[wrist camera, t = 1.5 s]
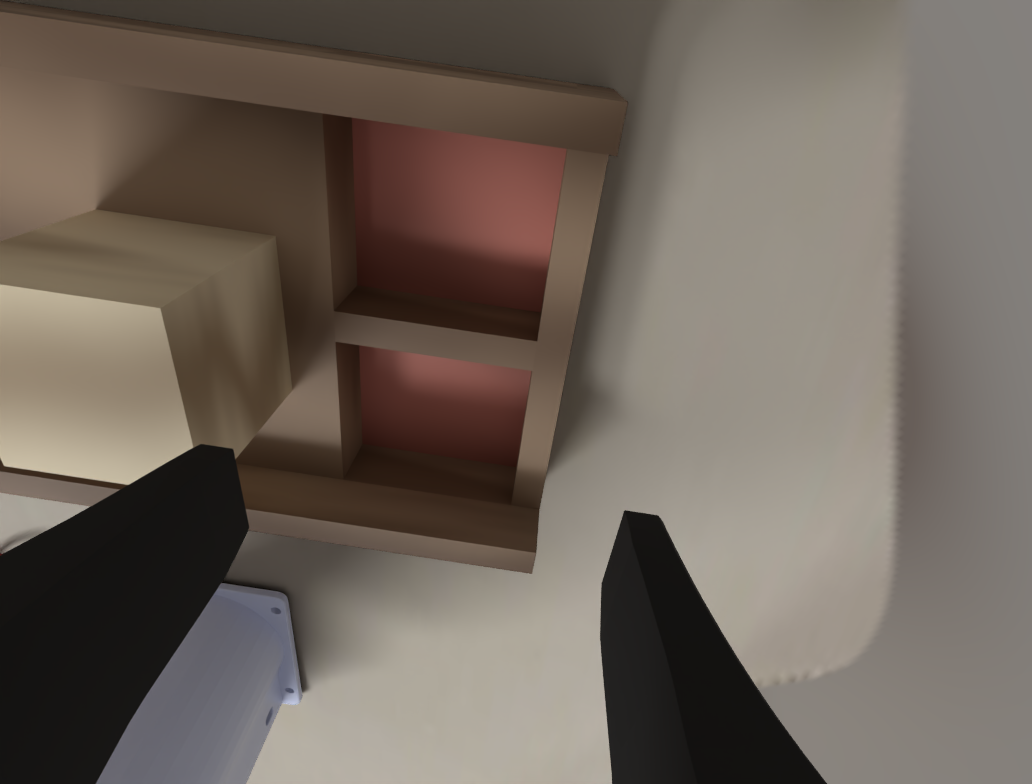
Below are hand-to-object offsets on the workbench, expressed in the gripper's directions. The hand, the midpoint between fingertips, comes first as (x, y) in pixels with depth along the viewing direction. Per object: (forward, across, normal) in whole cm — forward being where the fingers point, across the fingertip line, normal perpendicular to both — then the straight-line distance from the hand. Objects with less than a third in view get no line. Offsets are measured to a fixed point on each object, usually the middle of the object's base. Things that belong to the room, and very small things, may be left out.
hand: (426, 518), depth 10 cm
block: (+7, +8, 0) cm, 11 cm away
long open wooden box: (+10, +12, 0) cm, 16 cm away
